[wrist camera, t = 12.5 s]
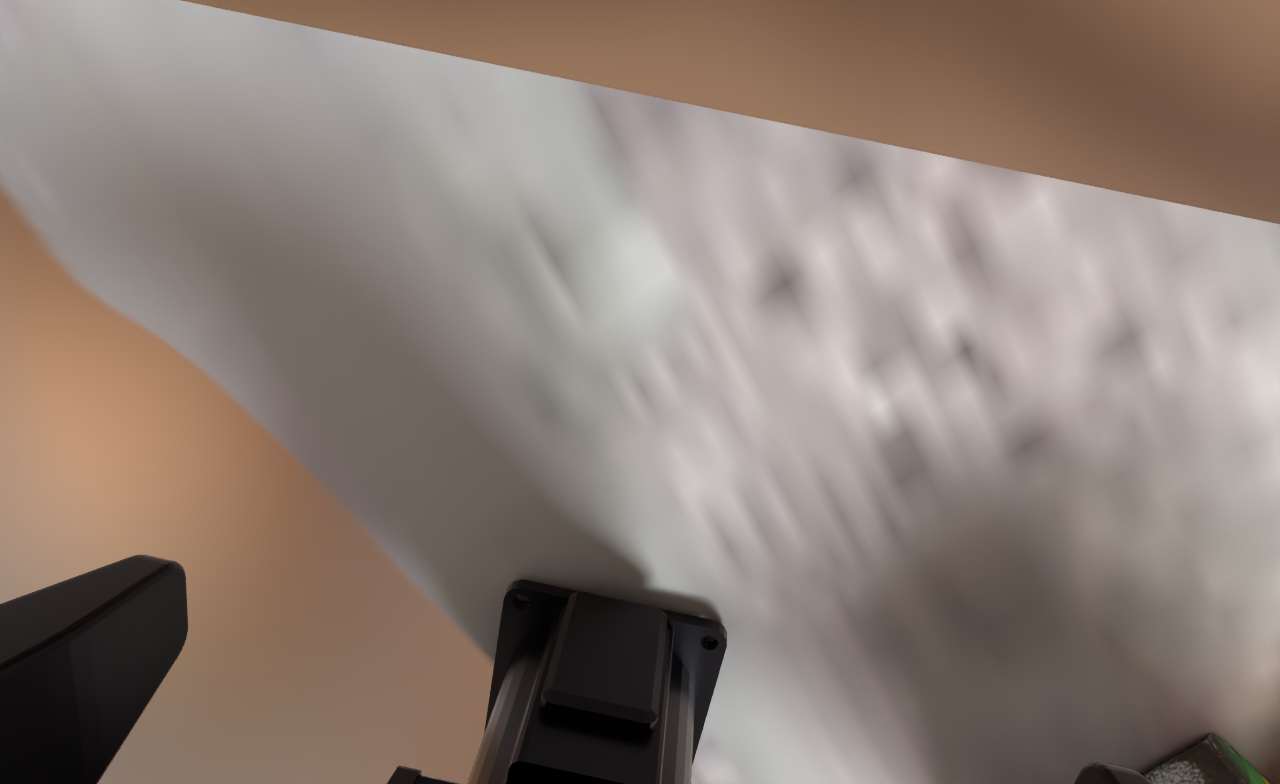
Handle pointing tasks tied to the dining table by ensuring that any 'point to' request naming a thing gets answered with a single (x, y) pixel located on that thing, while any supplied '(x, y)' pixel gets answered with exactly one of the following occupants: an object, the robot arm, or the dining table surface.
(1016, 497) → the dining table surface
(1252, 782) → the chalk box
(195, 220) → the dining table surface
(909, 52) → the keyhole plate
